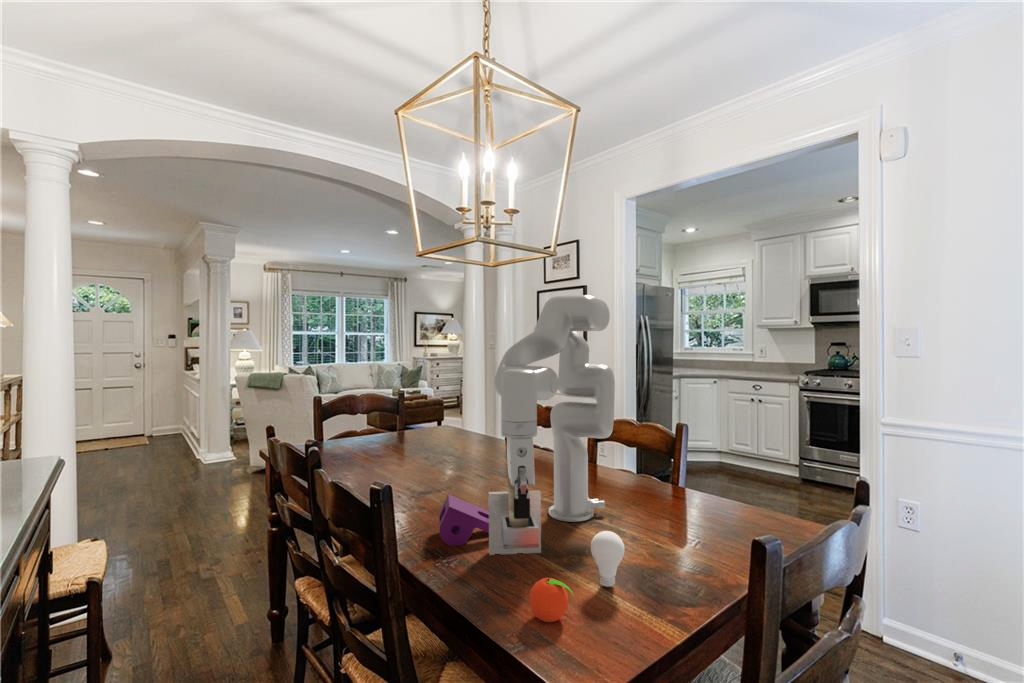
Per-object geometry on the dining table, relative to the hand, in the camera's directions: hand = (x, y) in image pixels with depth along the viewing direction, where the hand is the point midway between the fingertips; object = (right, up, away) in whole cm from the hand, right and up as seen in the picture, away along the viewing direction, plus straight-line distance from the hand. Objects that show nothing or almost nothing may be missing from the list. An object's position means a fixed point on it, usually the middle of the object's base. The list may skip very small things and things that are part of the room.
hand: (519, 509), depth 102 cm
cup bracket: (0, -14, +4) cm, 14 cm away
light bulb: (+18, -14, -5) cm, 23 cm away
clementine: (+5, -14, -16) cm, 22 cm away
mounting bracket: (-10, -14, +20) cm, 27 cm away
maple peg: (0, -6, 0) cm, 6 cm away
